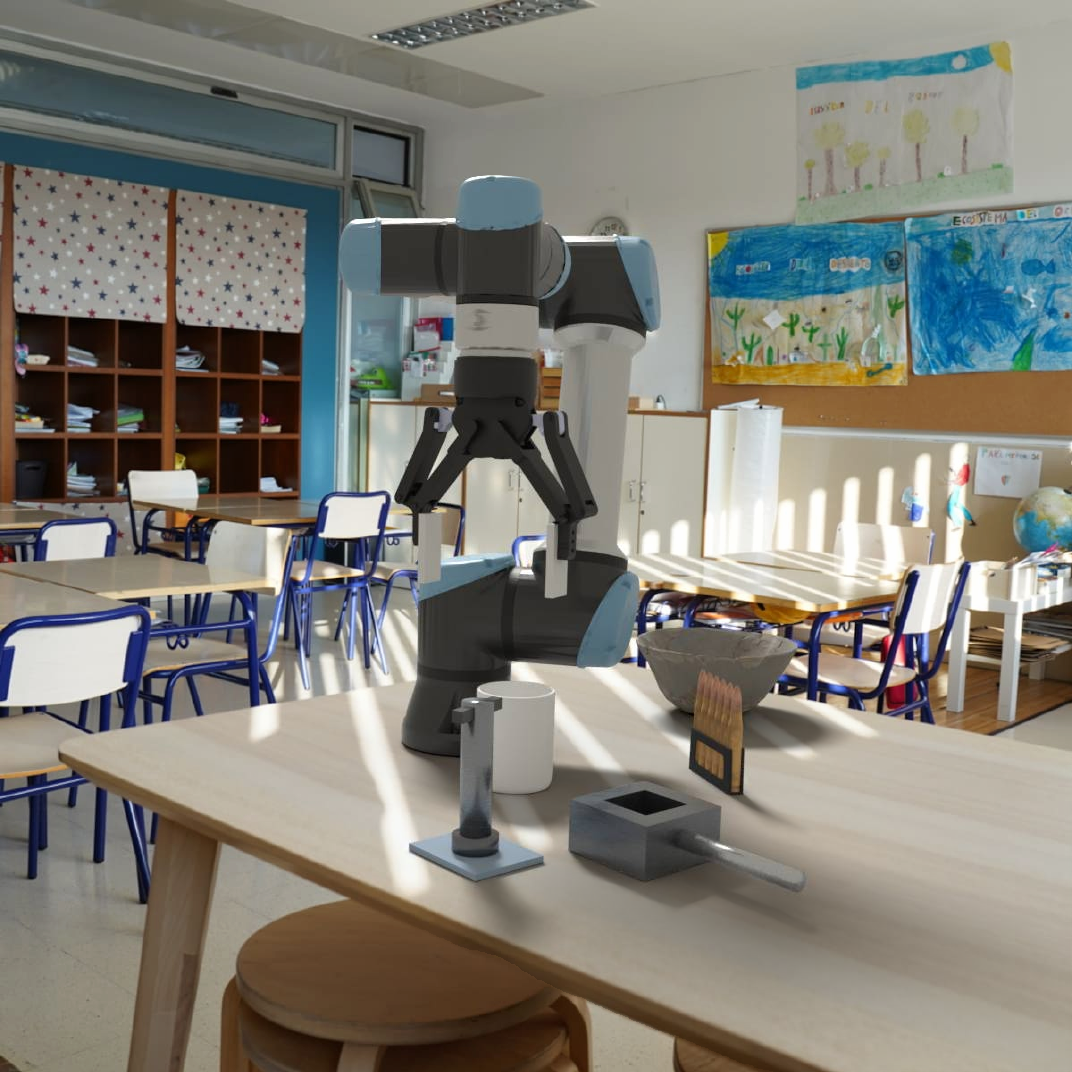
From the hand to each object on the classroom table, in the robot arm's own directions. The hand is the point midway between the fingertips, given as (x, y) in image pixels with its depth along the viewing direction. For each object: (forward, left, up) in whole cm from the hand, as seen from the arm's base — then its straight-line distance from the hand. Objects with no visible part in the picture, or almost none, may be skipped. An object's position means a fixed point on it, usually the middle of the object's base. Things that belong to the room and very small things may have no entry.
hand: (490, 589), depth 117 cm
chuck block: (+16, +12, -25) cm, 32 cm away
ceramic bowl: (-26, +62, -25) cm, 71 cm away
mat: (0, -1, -25) cm, 25 cm away
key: (0, -1, -24) cm, 24 cm away
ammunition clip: (-3, +36, -25) cm, 44 cm away
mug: (-17, +17, -25) cm, 34 cm away
